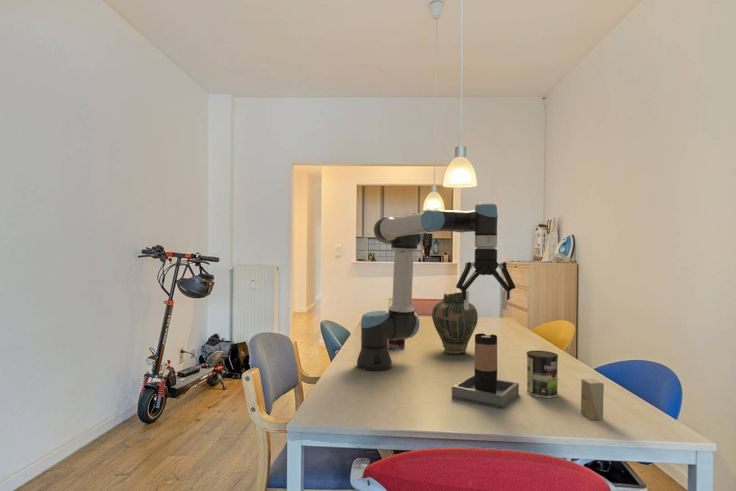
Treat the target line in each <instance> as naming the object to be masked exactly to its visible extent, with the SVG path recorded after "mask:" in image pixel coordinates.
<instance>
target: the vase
mask: <svg viewBox="0 0 736 491" xmlns="http://www.w3.org/2000/svg"><path fill="white" fill-rule="evenodd" d="M478 316H479V314H478V311H477V308H476V306H475V305H474V304H472V303H471V302H469V310H465V309H464V300H462V291H461V292H455V293H448V294H447V293H444V294H443V299H442V300H440V301H439V302H436V304H434V307H433V308H432V311H431V318H432V322H433V326H434V328H435V330H436V332H437V334H438V335H439V338H440V340H441V343H442V348H444V350H443V353H445V354H451V355H452V354H455V355H458V354H462V353H466V352H467V349H468V345H469V342H470V340H471V338H472V335H473V333H474V332H475V329H476V327H477V324H478V318H479V317H478Z"/></svg>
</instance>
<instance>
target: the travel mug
mask: <svg viewBox="0 0 736 491" xmlns="http://www.w3.org/2000/svg"><path fill="white" fill-rule="evenodd" d="M473 369H474V375H475V390H478V391H483V392H489V393H494V394H496V392H497V379H498V336H497V335H496V334H494V333H493V334H490V335H487V334H485V333H476V334H475V335H474V368H473Z"/></svg>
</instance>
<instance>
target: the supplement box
mask: <svg viewBox="0 0 736 491" xmlns="http://www.w3.org/2000/svg"><path fill="white" fill-rule="evenodd" d="M405 343H406V339H398V340H389V341H388V348H395V350H405V348H406V347H405V346H406V344H405Z"/></svg>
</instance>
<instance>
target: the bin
mask: <svg viewBox="0 0 736 491" xmlns="http://www.w3.org/2000/svg"><path fill="white" fill-rule="evenodd" d="M519 392H520V383H519V382H515V381H509V380H504V379H498V378H497V392H496V394H494V393H489V392H483V391H478V390H475V374H470V375H469V376H467V377H465V378H464V379H462V380H460V381H458V382H457V383H455V384H453V385H452V386H451V399H452V400H453V399H454V400H459V401H464V402H468V403H473V404H475V405H476V404H477V405H481V406H485V407H486V406H487V407H490V408H496V409H499V410H500V409H501V410H503V409H504V408H505V407H506V406H508V405H509V404H510V403H511V402H513V400H514V399H516V397H518V396H519V394H520V393H519Z"/></svg>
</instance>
